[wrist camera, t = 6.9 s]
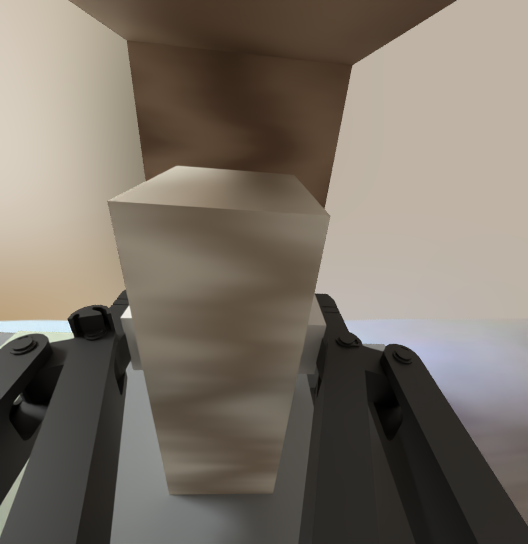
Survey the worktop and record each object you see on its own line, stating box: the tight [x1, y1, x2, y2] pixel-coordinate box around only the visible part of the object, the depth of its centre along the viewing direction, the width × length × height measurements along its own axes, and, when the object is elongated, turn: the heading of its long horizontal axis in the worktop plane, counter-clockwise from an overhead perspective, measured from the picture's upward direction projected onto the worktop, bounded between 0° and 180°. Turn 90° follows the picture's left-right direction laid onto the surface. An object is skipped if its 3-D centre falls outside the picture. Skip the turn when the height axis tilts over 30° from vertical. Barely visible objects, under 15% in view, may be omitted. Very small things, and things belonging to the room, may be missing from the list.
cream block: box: [107, 166, 330, 495], centre depth 12 cm, size 5×6×14 cm
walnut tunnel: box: [69, 0, 456, 209], centre depth 12 cm, size 10×12×20 cm
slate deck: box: [0, 331, 416, 544], centre depth 16 cm, size 33×15×3 cm, turn 92°
